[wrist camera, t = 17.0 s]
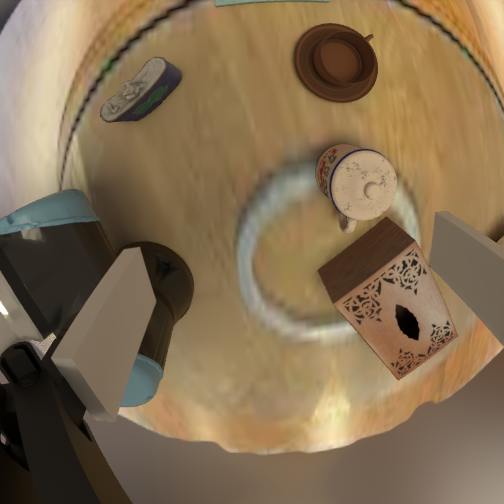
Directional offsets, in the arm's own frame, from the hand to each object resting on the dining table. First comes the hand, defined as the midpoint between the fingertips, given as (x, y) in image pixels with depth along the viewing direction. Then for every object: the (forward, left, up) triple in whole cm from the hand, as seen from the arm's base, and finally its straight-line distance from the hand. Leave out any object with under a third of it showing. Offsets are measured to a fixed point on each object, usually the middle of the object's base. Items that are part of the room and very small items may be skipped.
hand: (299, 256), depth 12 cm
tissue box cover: (+21, -26, -32) cm, 46 cm away
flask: (-13, +11, -32) cm, 36 cm away
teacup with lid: (+12, -5, -32) cm, 34 cm away
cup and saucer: (+12, +13, -32) cm, 37 cm away
